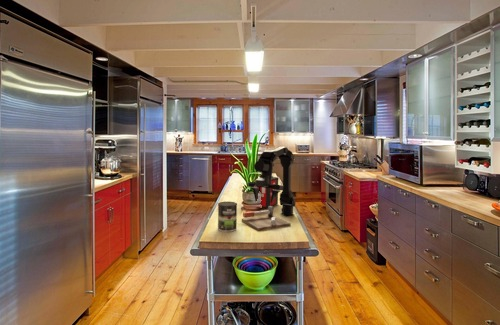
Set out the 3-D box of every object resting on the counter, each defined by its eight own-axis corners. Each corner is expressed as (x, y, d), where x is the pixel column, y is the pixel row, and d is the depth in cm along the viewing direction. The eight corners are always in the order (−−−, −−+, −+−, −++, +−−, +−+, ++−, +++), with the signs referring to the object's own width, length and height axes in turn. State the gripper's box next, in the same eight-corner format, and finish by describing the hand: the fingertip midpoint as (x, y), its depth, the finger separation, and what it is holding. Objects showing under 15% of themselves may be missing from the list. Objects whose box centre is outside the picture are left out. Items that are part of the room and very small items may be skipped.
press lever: (271, 215, 192) (271, 205, 192) (273, 216, 190) (274, 206, 189) (242, 219, 183) (242, 209, 183) (245, 220, 181) (245, 210, 180)
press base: (272, 217, 194) (272, 214, 194) (290, 225, 177) (290, 223, 177) (241, 221, 185) (241, 218, 185) (257, 230, 167) (257, 228, 167)
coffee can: (238, 231, 166) (239, 205, 165) (219, 232, 163) (219, 206, 162) (234, 225, 176) (234, 200, 175) (216, 226, 173) (216, 201, 172)
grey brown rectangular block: (271, 222, 178) (271, 217, 178) (275, 222, 178) (275, 217, 178) (271, 225, 172) (271, 220, 172) (274, 225, 172) (274, 220, 172)
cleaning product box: (266, 203, 232) (267, 176, 230) (277, 204, 227) (278, 177, 225) (255, 207, 218) (256, 179, 216) (266, 209, 213) (267, 180, 211)
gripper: (244, 170, 168) (241, 199, 167) (276, 173, 159) (273, 204, 158) (254, 172, 178) (251, 200, 176) (284, 175, 169) (281, 204, 167)
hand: (263, 202), depth 169 cm, fingers open, 9 cm apart
